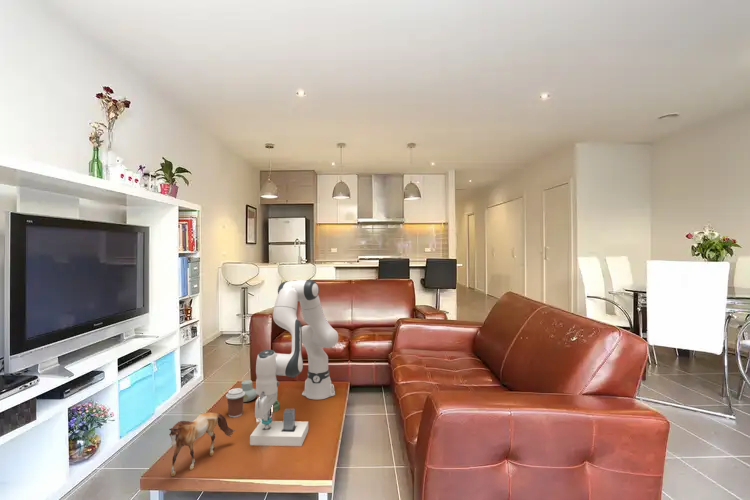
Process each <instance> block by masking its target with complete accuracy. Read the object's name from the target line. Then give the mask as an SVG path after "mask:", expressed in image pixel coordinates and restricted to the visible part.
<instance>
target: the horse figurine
mask: <svg viewBox="0 0 750 500" xmlns="http://www.w3.org/2000/svg"><path fill="white" fill-rule="evenodd" d="M216 426H218V427H219V429H220V430H221V431H222V432H224V434H225V435H226V436H227V437H231V435H234V432H235V431H236V430H235V429H232V428H231V427H229V426H228V422H227V419H226V417H225V416H224V415H223V414H221V413H219V412H203V413H200V414H199V415H197V416H196V418H195V419H194V420H192V421H188V420H180V421H178V422H176V423H175V424H174V425H173V426H172V427H171V428H169V431H170V432H169V437H170V439H171V441H170V445H171V447H175V448H174V450H173V451H174V453H173V456H172V464H171V474H170V475H171V477H175V476H176V473H177V472H176V470H175V464H176V460H177V458H178V455H179V453H180V451H181V449H182V448H183V447H184V446H187V447H188V448H189V450H190V451H189V454H190V455H189V456H190V457H191V464H190V465H189V471H193V469H194V468H195V462H196V459H195V456H194V454H195V451H194V442H195V441H196V440H198V439H199V438H201V437H202V436H203V435H205V433H207V434H208V435H209V436H210V439H211V443H210V446H209V456H210V457H212V456H213V455H214V449H215V447H216V446H215V443H216V441H215V439H216V433H215V432H214V429H215V428H216Z"/></svg>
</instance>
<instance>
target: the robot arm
mask: <svg viewBox="0 0 750 500" xmlns="http://www.w3.org/2000/svg"><path fill="white" fill-rule="evenodd" d="M319 290H320V287H319V284H318V283H317V282H316V281H315V280H312V279H295V280H291V281H290V280H288V281H287V280H285V281H283V282H281V283H280V284H279V285H278V288H277V296H276V299H275V302H274V307H273V312H272V319H273V321H274V323H275V324H276V325H277V326H278V327H280V328H282V329H284V330H286V331H288V332H289V334H290V336H291V352H290V353H280V352H275V350H273V349H263V350H262V351H259V353H258V354H257V357H256V362H255V363H256V364H255V374H256V379H255V389H256V394H257V397H256V398H257V399H256V400H255V402H254V403H255V405H254V418H255V419H263V420H264V421H267V420H268V419H269V417H270V414H271V413H270V409H271V407H272V405H273V404H274V403H275V401H276V400H278V392H279V391H278V390H279V389H278V388H279V386H280V382H279V381H280V380H279V381H278V380H277V379H278V378H277V376H285V377H289V378H295V377H297V376H298V375H300V374H301V373H302V372H303V366H304V361H303V346H304V349H305V351H306V354H307V361H308V368H307V369H308V370H307V378H306V379H305V381H304V390H303V391H302V393H301V396H303V397H305V398H307V399H310V400H324V399H328V398H330V397H334V396H336V391H335V386H334V384H333V383H332V380H331V377H330V369H329V356H328V354H327V353H326V351H325V350H324V348H333V347H335V346H336V345H337V343H338V342H339V333H338V331H337V330H336V329H334V328H333V327H332V325H331V324H330V323H329V321H328V320H327V318H326V317H325V314H324V311H323V307H322V303H321V299H320V296H319V293H320V291H319ZM298 302H299V303H298ZM298 304H299V305H300V310H301V314H302V317H303V321H304V322H305V323H306V324H307V325H303V326H302V324H301V321H300V320H299V319H298V317H297V316H298V315H297V313H298Z"/></svg>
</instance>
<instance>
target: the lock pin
mask: <svg viewBox="0 0 750 500" xmlns="http://www.w3.org/2000/svg"><path fill="white" fill-rule="evenodd" d="M261 421H262V424H264V430H270V427H269V424H270V423H271V422H272V421H273V418H272V417H271V416H269V419H268V420H267V421H264V420H263V418H261Z"/></svg>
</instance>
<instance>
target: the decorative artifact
mask: <svg viewBox="0 0 750 500" xmlns="http://www.w3.org/2000/svg"><path fill="white" fill-rule="evenodd" d="M279 410H280V402H279V400H278V399H277V400H276V401H275V403H274V404H273V413H275V412H278V411H279Z"/></svg>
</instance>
